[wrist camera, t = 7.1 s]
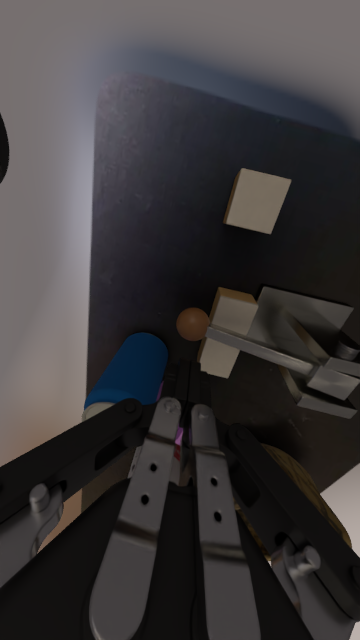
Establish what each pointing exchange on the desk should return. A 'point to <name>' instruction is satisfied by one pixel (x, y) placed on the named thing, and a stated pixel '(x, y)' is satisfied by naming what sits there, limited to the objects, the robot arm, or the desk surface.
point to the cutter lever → (268, 353)
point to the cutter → (307, 341)
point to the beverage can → (130, 374)
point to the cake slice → (256, 200)
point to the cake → (230, 314)
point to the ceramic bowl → (306, 487)
